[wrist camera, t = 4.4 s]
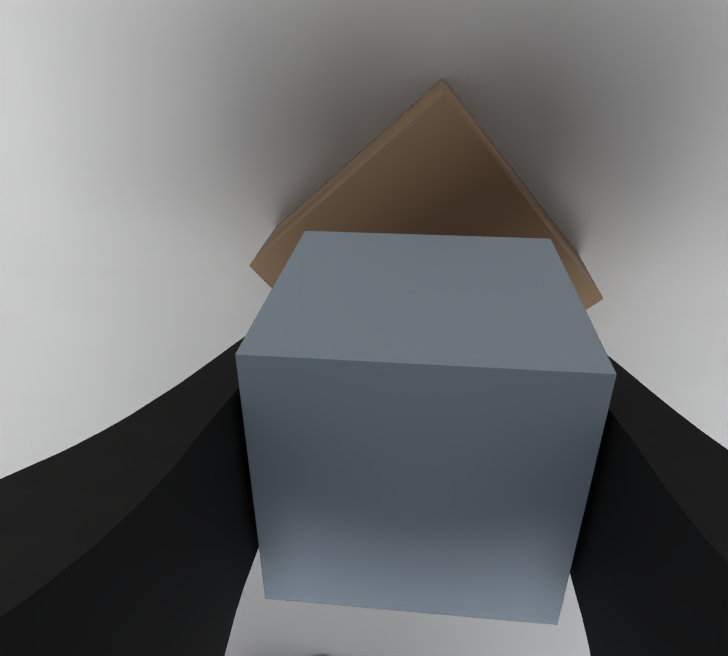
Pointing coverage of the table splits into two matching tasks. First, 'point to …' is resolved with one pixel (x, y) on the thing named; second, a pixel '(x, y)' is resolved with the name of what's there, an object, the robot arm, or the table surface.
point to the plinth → (426, 191)
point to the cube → (422, 424)
